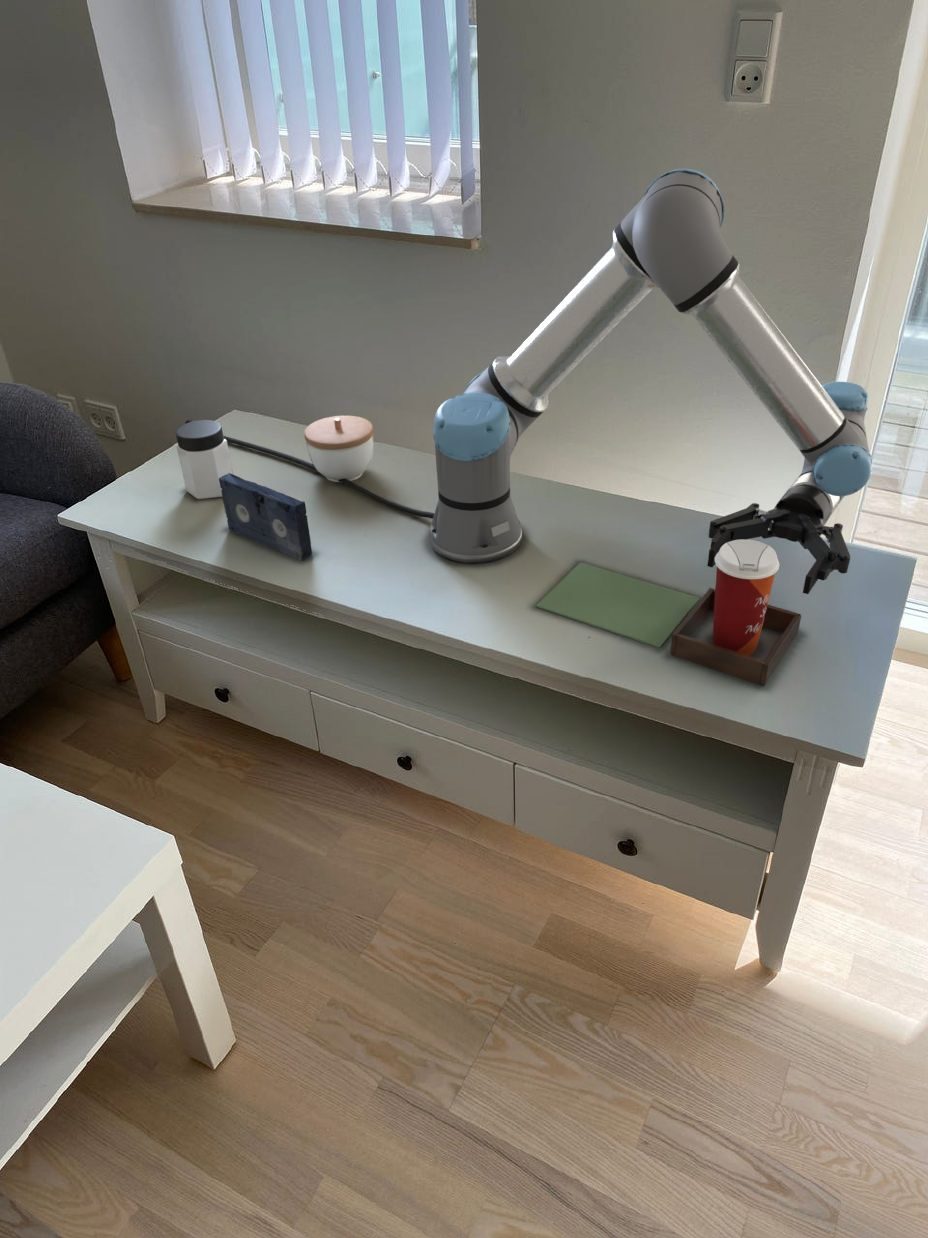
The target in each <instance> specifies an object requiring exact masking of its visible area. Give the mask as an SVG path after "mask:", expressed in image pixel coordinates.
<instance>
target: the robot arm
mask: <svg viewBox="0 0 928 1238" xmlns="http://www.w3.org/2000/svg"><path fill="white" fill-rule="evenodd" d="M724 218H725V203H724V200H723V197H722V194H721V192H720V190H719V187H718V186H717V185H716V182H714V181H713V180H712V178H711V177H709V176H708V175H707V174H705V173H703V172H702V171H700V170H697V169H693V168H686V167H685V168H684V167H683V168H675V169H672V170H669V171H666V172H665V173H662V174H661V175H660V176H658V177H657V178H655V179H654V180H653V181H652V182H651V183H650V185H649V186H648V187H647V189H646V191H645V193H644V196H643V197H642V198H641V199H640V201H639V202H638V203H637V204H636V205H635V206H634V207H633V208H632V209H631V210H630V211H629V212H628V213H627V214H626V216H625V217H624V218H623V219H622V220H621V221H620V222H619V223H618V224H617V225H616V226H615V227H614V229H613V231H612V246H611V248H609V250H607V252H605V254H604V255H603V256H601V258H600V259H599V260H598V261H597V262H596V264H595V265H594V266H592V268H591V269H590V270H589V271H588V272H587V273H586V274H585V276H583V277H582V279H581V280H580V281H579V282H578V283H577V284H576V285H575V286H574V287H573V288H572V290H571V291H570V292H569V293H568V294H567V295H566V296H565V297H564V298H563V299H562V300H561V301H560V302H559V304H557V306H556V307H555V308H554V309H553V310H552V311H551V312H550V313H549V314H548V315H547V316H546V317H545V319H543V321H542V322H540V324H539V325H538V326H537V327H536V328H535V329H534V330H533V332H531V334H530V335H529V336H528V337H527V338H526V339H525V340H524V341H523V342H522V343H521V344H520V346H519V347H517V349H516V350H515V351H514V352H513V353H512V354H511V355H499V356H497V357H496V358H494V360H493V361H492V362H491V363H490V364H489V365H488V366H487V368H486V369H485V370H483V371H482V372H480V373H478V375H476V376H475V377H473V378H472V380H470V382H469V383H468V384H467V385H466V387H465V389H464V392H463V393H462V394H458V395H457V394H456V396H454V398H452V397H450V398H449V399H446V400H445V401H443V403H441V404H440V405H439V407H438V408H437V410H436V411H435V415H434V419H433V429H432V431H433V435H432V436H433V437H432V438H433V442H434V448H435V449H434V451H435V452H434V453H435V464H436V466H435V467H436V479H437V480H436V481H437V494H438V496H437V497H438V500H437V504H436V507H435V510H434V512H430V511H423V510H418V509H415V508H411V507H408V506H405V505H403V504H399V503H397V502H395V501H391V500H389V499H386V498H385V497H382V496H380V495H379V494H376V493H375V492H372V491H371V490H369V489H367V488H365V487H363V486H361V485H360V484H358V483H355V482H353V481H349V480H347V479H340V480H338V481H339V482H338V483H342V484H343V485H345V486H348V487H350V488H352V489H353V490H356V491H357V492H359V493H362V494H363V495H365V496H367V497H369V498H370V499H372V500H374V501H376V502H377V503H380V504H383V505H385V506H387V507H390V508H392V509H394V510H397V511H400V512H403V513H406V514H409V515H412V516H415V517H416V516H417V517H420V518H426V519H427V518H428V519H432V521H431V524H430V526H429V527H430V528H429V541H430V546H431V548H432V550H433V551H434V552H436V554H438V555H439V556H441V557H443V558H445V559H448V560H450V561H454V562H458V563H459V562H460V563H465V564H467V563H468V564H479V563H488V562H493V561H497V560H500V559H503V558H505V557H507V556H509V555H511V554H512V553H514V552H516V551H517V549H518V548H519V547H520V546H521V544H522V540H523V529H522V523H521V521H520V519H519V517H518V514H517V511H516V508H515V506H514V503H513V500H512V497H511V456H512V454H513V452H514V450H515V448H516V446H517V443H518V441H519V439H520V437H521V436H522V434H524V432H525V431H526V430H527V429H528V428H529V427H531V425H532V424H533V423H534V422H535V421H537V419H539V417H540V416H541V415H542V414H543V413H544V412H545V411H546V410H547V409H548V408H549V394H550V393H551V392H552V391H553V390H554V389H555V388H556V387H557V386H558V385H559V384H560V383H561V382H562V381H563V380H564V379H565V378H566V377H567V376H568V375H569V374H570V373H571V372H572V371H573V369H575V368H576V366H578V365H579V363H581V361H583V359H585V358H586V357H587V356H588V354H590V352H592V351H593V349H594V348H595V347H596V346H597V345H599V343H600V342H602V341H603V339H604V338H606V336H607V335H609V333H610V332H611V331H613V330H614V328H615V327H616V326H617V325H618V324H619V323H621V321H622V320H623V319H624V318H625V317H626V316H627V315H628V314H629V313H630V312H631V311H632V310H633V309H634V308H635V307H636V306H637V305H638V304H639V303H640V302H641V301H642V300H643V299H644V298H645V297H646V296H647V295H648V294H649V293H650V292H651V291H652V290H654V289H659V290H660V291H661V292H662V293H663V295H665V297H667V299H668V300H669V301H670V303H672V305H673V306H674V308H675V309H676V310H677V311H678V312H679V314H680V315H688V316H692V317H693V319H694V320H695V321H696V323H697V324H698V325H699V326H700V327H701V329H702V330H703V331H704V333H706V335H707V336H708V337H709V339H710V340H711V341H712V342H713V344H714V345H715V346H716V348H717V349H718V350H719V352H721V354H722V355H723V356H724V358H725V359H726V360H727V361H728V363H729V364H730V365H731V366H732V368H733V369H734V370H735V371H736V372H737V374H738V375H739V377H741V379H742V380H743V381H744V383H745V384H746V385H747V387H749V389H750V390H751V391H752V392H753V394H754V395H755V397H756V398H757V399H758V400H759V401H760V403H761V404H762V405H763V407H764V408H765V409H766V410H767V412H768V413H769V414H770V415H771V417H772V418H773V419H774V420H775V422H776V423H777V424H778V426H779V427H780V428H781V429H782V431H783V432H784V433H785V434H786V436H787V437H788V438H789V439H790V441H792V443H793V444H794V445H795V447H796V448H797V449H798V451H799V452H800V453H801V455H802V456H803V458H804V460H803V465H802V470H801V473H800V474H799V475H798V477H797V478H796V479H795V480H794V482H793V483H792V484H791V485H790V486H789V488H788V489H787V490H786V491H785V493H784V494H783V495H782V497H781V498H780V499H779V500H778V501H777V503H776V505H775V506H774V508H772V509H769V510H768V511H766V510H763V509H760V504H759V503H758V502H757V503H756V502H752V503H751V504H750V505H748V506H747V507H746V508H743V509H740V510H737V511H735V512H732V513H729V514H726V515H724V516H721V517H719V518H715V519H713V520H711V521H710V522H709V527H708V528H709V529H708V538H709V539H710V549H709V551H708V558H707V567H708V568H713V567H714V566H716V564H715V556H716V554H717V553H718V552H719V550H720V548H721V547H722V546H723V545H724V544H725V543H727V542H730V541H734V540H741V539H745V540H752V539H755V538H762V539H765V540H766V539H770V538H778V539H783V540H788V541H790V542H794V543H796V542H797V543H799V544H800V545H801V547H802V548H803V549H804V550H807V551H808V552H809V553H810V554H811V556H812V557H813V558H814V560H815V562H814V563H813V565H812V566H811V568H810V569H809V571H808V572H807V574H806V575H805V578H804V583H803V588H802V594H805V595H809V594H810V592H811V591H812V589H813V588H814V586H815V585H816V583H817V581H818V580H820V581H826V580H827V579H828V577H829V576H830V574H831V573H832V572H833V571H838V573H839V574H848V571H849V566H850V561H851V554H850V551H849V549H848V546H847V544H846V541H845V539H844V536H843V529H844V525H843V524H842V523H838V522H837V523H834V525H833V526H827V525H826V524H827V523H828V521H829V519H830V518H831V516H833V513H834V512H835V511H836V509H837V507H838V506H839V504H840V503H841V501H842V500H843V499H844V498H845V497H848V496H851V495H853V494H856V493H858V492H859V491H860V490H862V489H863V488H864V487H865V486H866V485H867V484H868V482H869V480H870V478H871V474H872V464H873V459H872V455H871V453H870V448H869V444H868V437H867V432H866V426H865V419H866V418H865V417H866V413H867V411H868V409H869V408H868V401H869V392H868V390H867V389H866V388H865V387H864V386H861V385H860V384H857V383H854V382H849V381H830V382H827V383H824V384H821V383H820V382H819V380H818V379H817V377H816V376H815V375H814V373H812V371H811V370H810V368H809V367H808V366H807V364H806V363H805V361H803V359H802V358H801V357H800V355H799V354H798V352H797V351H796V350H795V348H794V347H793V346H792V345H791V343H790V342H789V341H788V340H787V338H786V337H785V335H784V334H783V333H782V332H781V330H780V329H779V328H778V326H777V324H775V322H774V321H773V320H772V318H771V317H770V316H769V315H768V313H767V312H766V311H765V309H764V308H763V307H762V305H761V304H760V303H759V302H758V300H757V299H756V297H755V296H754V294H753V293H751V291H750V289H749V288H748V287H747V285H746V284H745V283H744V281H743V280H742V279H741V277H739V274H740V266H741V265H740V262H739V261H738V260H737V259H736V257H735V255H733V253H732V252H731V250H730V249H729V246H728V245H727V243H726V241H725V238H724V236H723V233H722V230H721V228H722V225H723V223H724ZM193 421H194V420H192V419H187V420H186V421H185V423H184V424H186V423H189V422H193ZM223 437H224V439H226V440H227V443H229V444H230V443H231V444H233V445H237V446H241V447H244V448H248V449H251V450H254V451H258V452H261V453H265V454H267V455H271V456H273V457H277V458H279V459H283V460H286V461H289V462H292V463H294V464H297V465H300V466H302V467H305V468H308V469H310V470H313V471H314V472H317V473H320V472H319V471H318V470H317V469H316V468H315V467H314V465H313V464H312V462H309V461H307V460H303V459H302V458H301V459H300V458H298V457H295V456H292V455H290V454H287V453H284V452H281V451H277V450H274V449H271V448H268V447H264V446H261V445H258V444H254V443H252V442H251V443H250V442H248V441H244V440H241V439H236V438H233V437H229V436H227V435H223ZM821 536H824V538H825V539H826V541H825V540H824V539H823V538H822V537H821ZM828 544H829V545H828Z"/></svg>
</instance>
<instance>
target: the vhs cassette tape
mask: <svg viewBox="0 0 928 1238" xmlns="http://www.w3.org/2000/svg"><path fill="white" fill-rule="evenodd" d="M219 483H220V488H222V490H221V492H222V501H223V502H222V503H223V506H224V513H225V516H226V523H227V526H228V527H227V528H228V530H229V531H230V532H233V533H235V534H237V535H240V536H242V537H245V538H247V539H249V540H251V541H254V542H257V543H258V544H261V545H264V546H266V547H268V548H270V549H273V550H275V551H277V552H280V553H282V554H285V555H288V557H289V556H290V557H292V558H294V559H296V560H299V561H304V560H306V559H307V558H309V557H310V556H312V555H313V550H312V541H311V535H310V534H311V533H310V527H309V520H308V515H307V507H306V502H305V501H304V500H303V501H302V500H299V499H298V498H295V497H292V496H289V495H288V494H287V495H286V494H285V493H282V492H279V491H276V490H275V489H273V488H269V487H267V486H265V485H261V484H258V483H256V482H254V481H251V480H247V479H246V480H245V479H244V478H242V477H240V476H238V475H235V474H234V473H233V474H230V473H228V474H226V475H224V476H222V477H220V478H219Z"/></svg>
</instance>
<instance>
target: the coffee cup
mask: <svg viewBox="0 0 928 1238" xmlns="http://www.w3.org/2000/svg"><path fill="white" fill-rule="evenodd" d="M715 566H716V571H715V572H716V574H715V588H714V589H715V604H714V612H713V622H712V625H713V626H712V644H713V645H716V646H719V647H722V648H726V649H729V650H732V651H735V652H738V653H741V654H744V655H747V656H752V655H753V654H754V653H755V652H756V650H757V647H758V644H759V641H760V637H761V633H762V629H763V627H762V625H763V621H764V617H765V613H766V609H767V605H769V604H768V603H769V601H770V596H771V591H772V587H773V583H774V579H775V575H776V573H777V572H778V570H779V568H780V561H779V559H778V555H777V552H776V550H775V549H774V548H773V547H772V546H771V545H768V544H767V543H765V542H762V541H758V540H755V539H746V540H745V539H741V540H734V541H730V542H727V543H725V544H724V545H723V546H722V547H721V548H720V550H719V552H718V553H717V554H716V556H715Z"/></svg>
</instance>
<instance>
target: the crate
mask: <svg viewBox="0 0 928 1238" xmlns="http://www.w3.org/2000/svg"><path fill="white" fill-rule="evenodd" d="M714 604H715V588H713V587H709V588H708V589H707V591H706V592H705V593H704V594H703V596H702V597H701V598H700V599H699V600H698V602H697V603H696V604H695V605H694V607H693V608H692V609H691V610H690V612H689V613H688V614H687V615H686V617H685V618H684V619H683V620H682V621H681V623H680V624H679V625H678V626H677V628H676V629H675V630H674V631H673V633H672V634H671V641H670V642H671V643H670V651H669V655H670V656H673V657H675V658H679V659H682V660H685V661H687V662H691V663H693V664H696V665H700V666H703V667H706V668H709V669H712V670H715V671H718V672H720V673H724V674H727V675H730V676H733V677H737V678H739V679H742V680H745V681H749V682H750V683H754V684H757V685H760V686H763V687H765V686H766V685H767V683H768V681H769V680H770V679H771V678H772V676H773V674H774V672H775V670H777V667H778V666H779V664H780V663H781V661H782V660H783V658H784V657H785V655H786V654H787V652H788V651H789V649H790V647H791V646H792V644H793V643H794V642H795V639H796V638H797V637H798V635H799V630H800V625H801V620H802V613H798V612H795V611H791V610H788V609H785V608H781V607H778V606H776V605H775V606H774V605H772V604H768V605H767V609H766V613H765V617H764V621H763V625H762V628H764V629H765V628H766V629H769V630H772V631H776V632H779V633H782V634H781V636H780V637H779V638H778V641H777V642H776V643H775V645H774V646H773V648H772V650H771V651H770V653H769V655H768V656H767V657H766V659H765V660H763V659H760V658H757V657H753V656H751V655H749V656H747V655H744V654H741V653H738V652H735V651H732V650H729V649H726V648H722V647H719V646H716V645H713V643H709V642H707V641H703V640H701V639H697V638H694V637H692V634H693V633H694V632H695V630H697V628H698V627H699V626H700V624H701V623H702V622H703V620H704V619H705V618H706V617H707V616H708V614H709V613H710V612H713V613H714Z"/></svg>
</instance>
